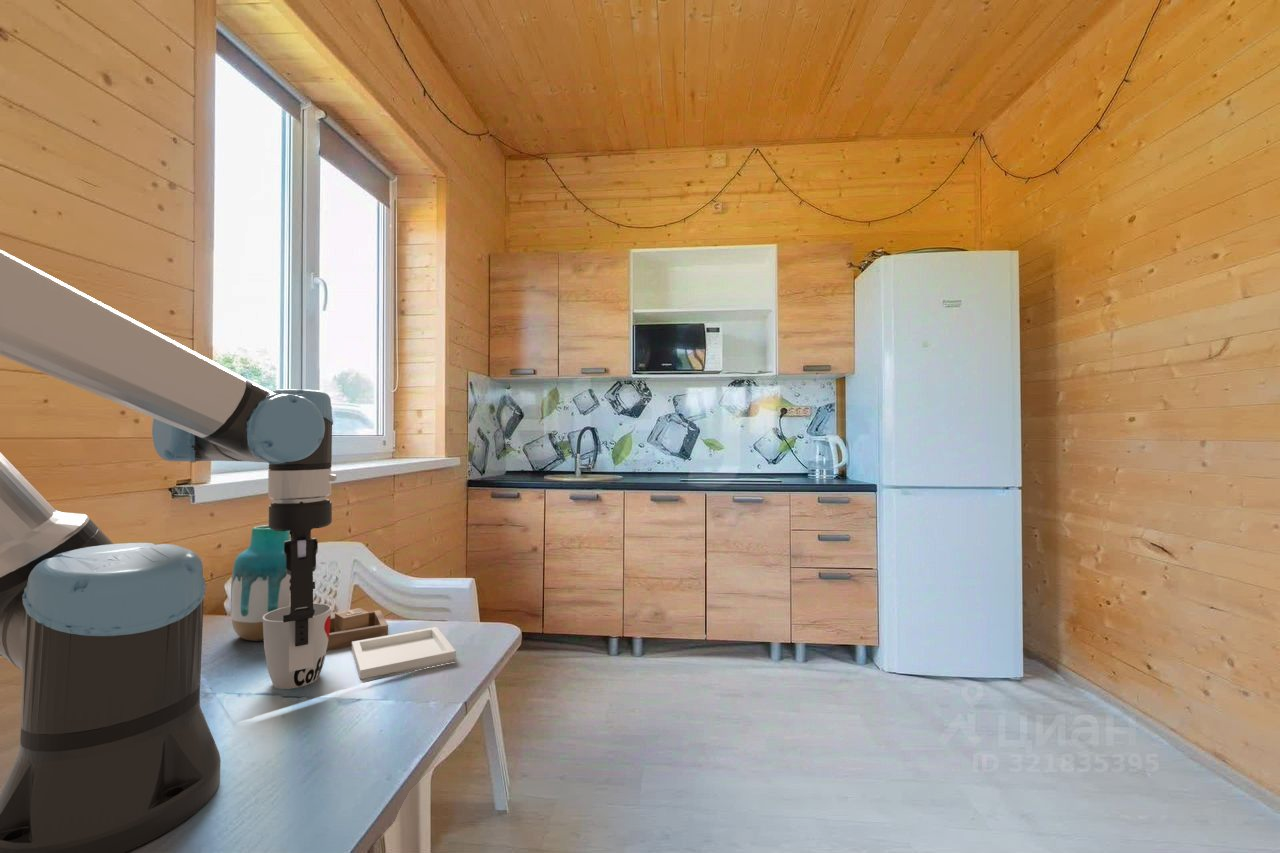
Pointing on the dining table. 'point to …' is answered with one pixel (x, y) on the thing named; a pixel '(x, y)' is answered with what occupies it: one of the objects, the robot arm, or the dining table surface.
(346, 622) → the letter cube
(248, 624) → the vase
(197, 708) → the robot arm
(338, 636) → the brown wooden tray
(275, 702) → the dining table surface
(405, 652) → the tray
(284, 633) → the cup
